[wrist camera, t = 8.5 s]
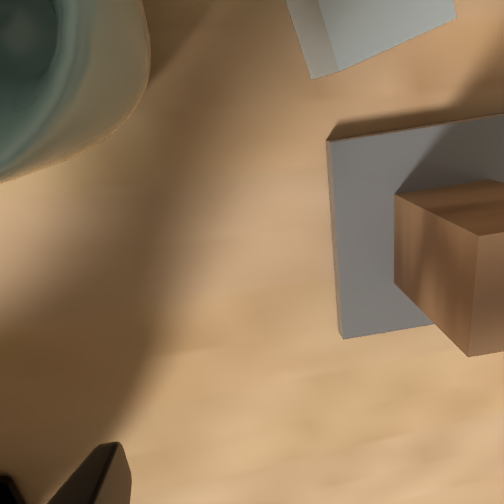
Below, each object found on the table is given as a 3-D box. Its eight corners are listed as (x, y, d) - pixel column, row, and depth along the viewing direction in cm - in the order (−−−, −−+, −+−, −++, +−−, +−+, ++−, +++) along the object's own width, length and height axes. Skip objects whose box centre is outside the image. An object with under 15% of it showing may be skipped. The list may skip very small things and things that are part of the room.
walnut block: (482, 268, 19) (592, 336, 13) (393, 283, 19) (468, 357, 13) (490, 179, 17) (620, 213, 12) (394, 194, 17) (478, 235, 12)
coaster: (517, 300, 21) (529, 307, 20) (338, 330, 21) (343, 339, 20) (543, 107, 17) (558, 106, 16) (325, 140, 17) (330, 142, 16)
